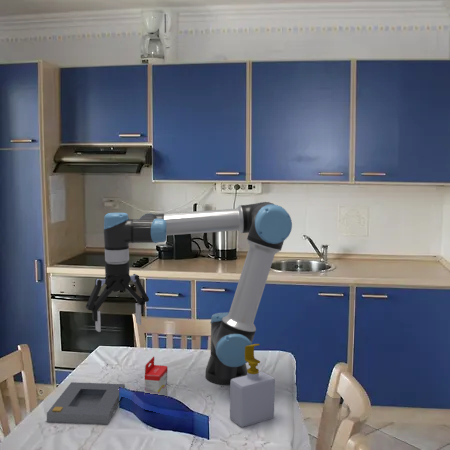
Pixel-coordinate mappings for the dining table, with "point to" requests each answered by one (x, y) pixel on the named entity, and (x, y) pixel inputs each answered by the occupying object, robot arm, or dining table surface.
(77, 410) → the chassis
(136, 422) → the dining table surface
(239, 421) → the soap bottle
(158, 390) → the ink box
